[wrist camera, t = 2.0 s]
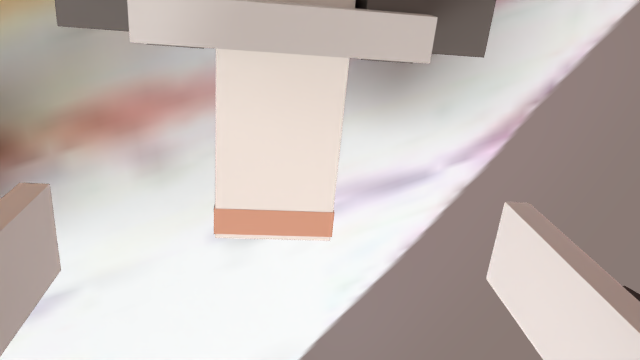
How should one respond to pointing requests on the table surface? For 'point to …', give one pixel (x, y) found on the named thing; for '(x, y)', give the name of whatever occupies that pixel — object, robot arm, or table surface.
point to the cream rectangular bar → (278, 141)
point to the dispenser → (296, 26)
